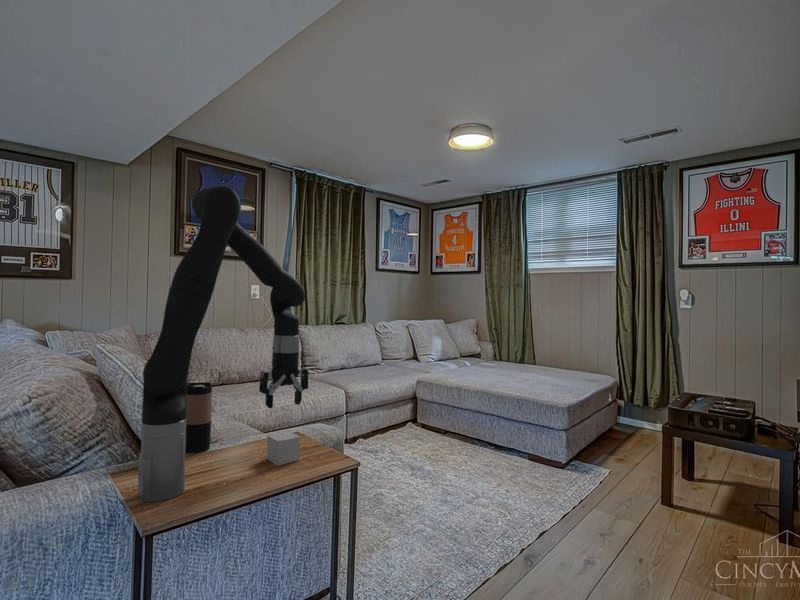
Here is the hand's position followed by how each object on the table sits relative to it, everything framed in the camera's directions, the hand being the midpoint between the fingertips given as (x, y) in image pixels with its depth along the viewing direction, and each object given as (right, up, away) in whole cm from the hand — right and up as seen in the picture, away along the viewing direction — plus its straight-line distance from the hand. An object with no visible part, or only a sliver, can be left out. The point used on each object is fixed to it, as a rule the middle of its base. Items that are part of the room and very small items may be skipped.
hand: (283, 405), depth 123 cm
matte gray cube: (0, -16, 0) cm, 16 cm away
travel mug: (-29, -15, +7) cm, 33 cm away
